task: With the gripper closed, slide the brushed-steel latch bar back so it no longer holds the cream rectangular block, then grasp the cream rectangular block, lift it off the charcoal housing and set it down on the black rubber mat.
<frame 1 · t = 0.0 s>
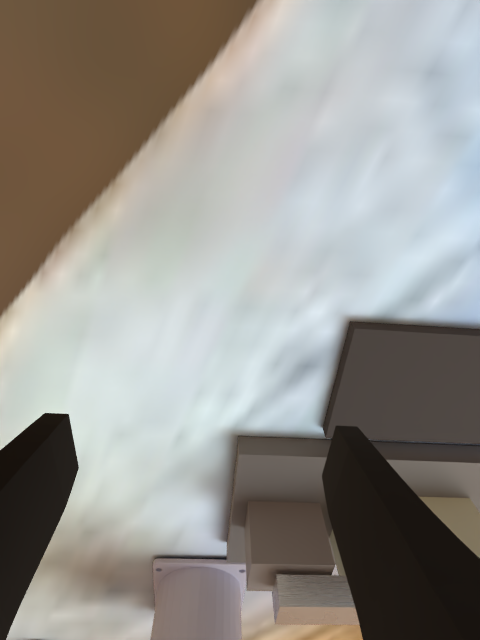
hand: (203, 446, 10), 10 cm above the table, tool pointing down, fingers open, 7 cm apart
latch bar: (334, 599, 21), point 7 cm above the table, slide at 0.0 cm
housing: (376, 499, 27), on the table
mat: (438, 384, 22), on the table
cream rectangular block: (397, 518, 26), point 1 cm above the table, touching housing
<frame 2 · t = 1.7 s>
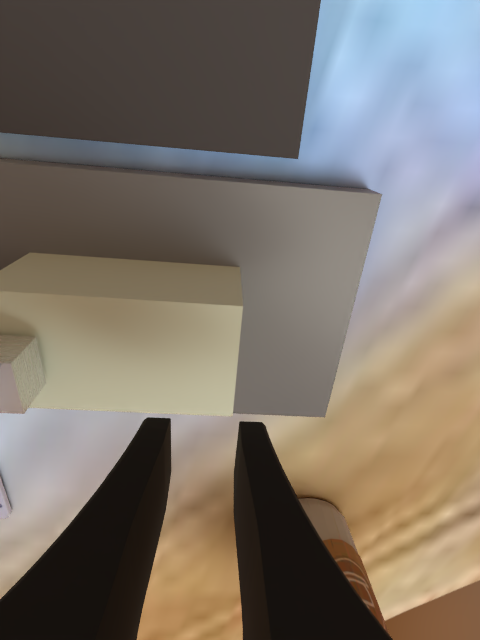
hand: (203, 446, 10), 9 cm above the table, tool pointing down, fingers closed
housing: (126, 296, 18), on the table
coffee cup: (302, 520, 27), on the table
mat: (133, 20, 13), on the table
cream rectangular block: (139, 311, 17), point 1 cm above the table, touching housing
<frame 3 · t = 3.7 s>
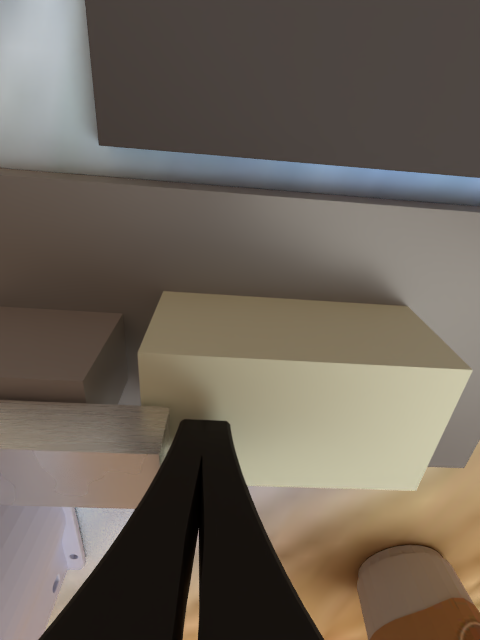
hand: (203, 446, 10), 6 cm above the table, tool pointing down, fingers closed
latch bar: (28, 452, 9), point 7 cm above the table, slide at 1.2 cm, touching gripper
housing: (251, 335, 15), on the table
coffee cup: (399, 566, 25), on the table
mat: (322, 10, 10), on the table
cream rectangular block: (279, 356, 14), point 1 cm above the table, touching housing
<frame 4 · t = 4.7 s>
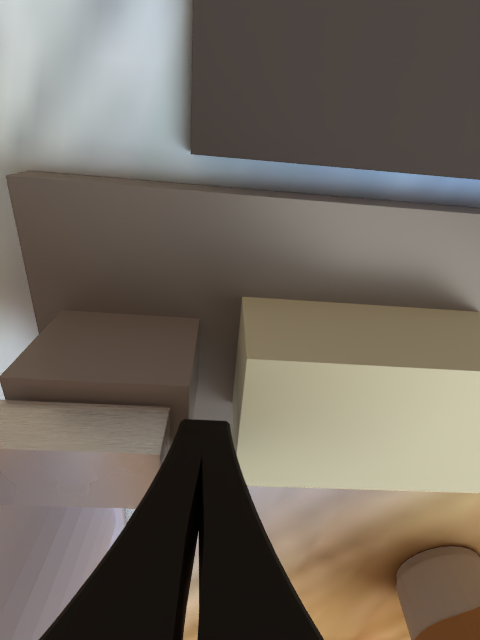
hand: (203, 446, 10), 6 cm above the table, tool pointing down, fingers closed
latch bar: (29, 452, 9), point 7 cm above the table, slide at 4.0 cm, touching gripper
housing: (315, 339, 16), on the table
coffee cup: (436, 567, 25), on the table
mat: (416, 23, 10), on the table
cream rectangular block: (348, 360, 14), point 1 cm above the table, touching housing
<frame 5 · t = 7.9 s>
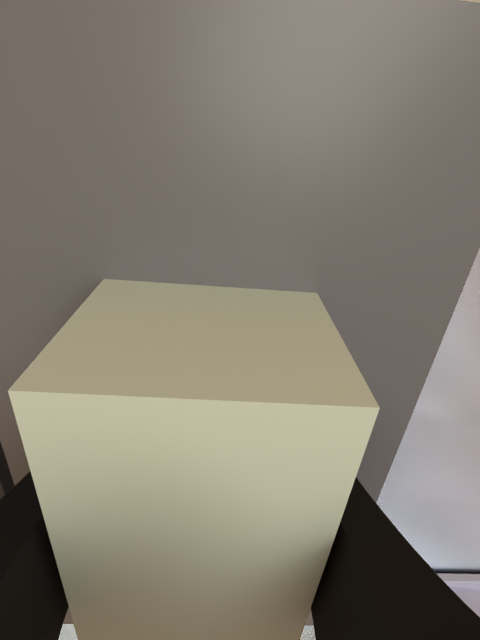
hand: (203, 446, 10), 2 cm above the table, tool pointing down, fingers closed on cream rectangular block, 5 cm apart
housing: (206, 417, 12), on the table
cream rectangular block: (205, 427, 10), point 1 cm above the table, touching gripper, housing
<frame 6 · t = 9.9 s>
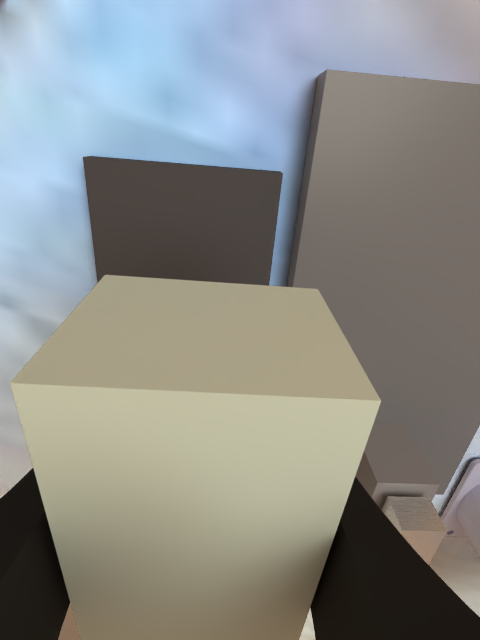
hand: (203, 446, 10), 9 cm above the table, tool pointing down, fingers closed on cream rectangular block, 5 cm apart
latch bar: (394, 558, 17), point 7 cm above the table, slide at 4.0 cm
housing: (391, 332, 19), on the table
mat: (185, 303, 18), on the table
cream rectangular block: (206, 424, 10), point 9 cm above the table, touching gripper
when the fingers open (3 cm above the table, at t = 12.1 s): cream rectangular block moves 1 cm, resting on mat.
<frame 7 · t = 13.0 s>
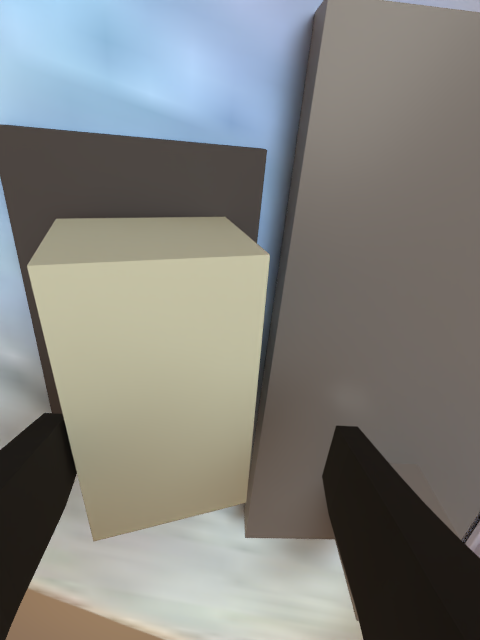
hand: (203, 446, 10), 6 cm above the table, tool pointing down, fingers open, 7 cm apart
housing: (404, 354, 15), on the table
mat: (146, 319, 14), on the table
cream rectangular block: (154, 342, 13), point 1 cm above the table, tilted 15°, touching gripper, mat
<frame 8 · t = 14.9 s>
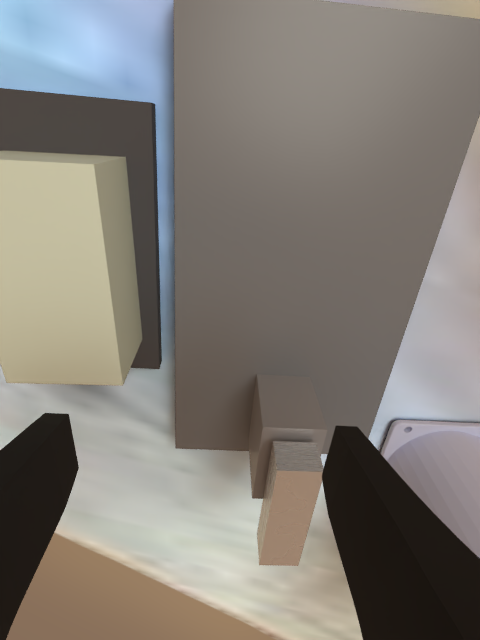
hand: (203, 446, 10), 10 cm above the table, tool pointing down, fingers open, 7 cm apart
latch bar: (286, 506, 17), point 7 cm above the table, slide at 4.0 cm
housing: (292, 282, 19), on the table
mat: (77, 248, 18), on the table
cream rectangular block: (82, 257, 17), point 1 cm above the table, touching mat
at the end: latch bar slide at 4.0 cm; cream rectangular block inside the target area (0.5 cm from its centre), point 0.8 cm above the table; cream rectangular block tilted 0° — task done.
